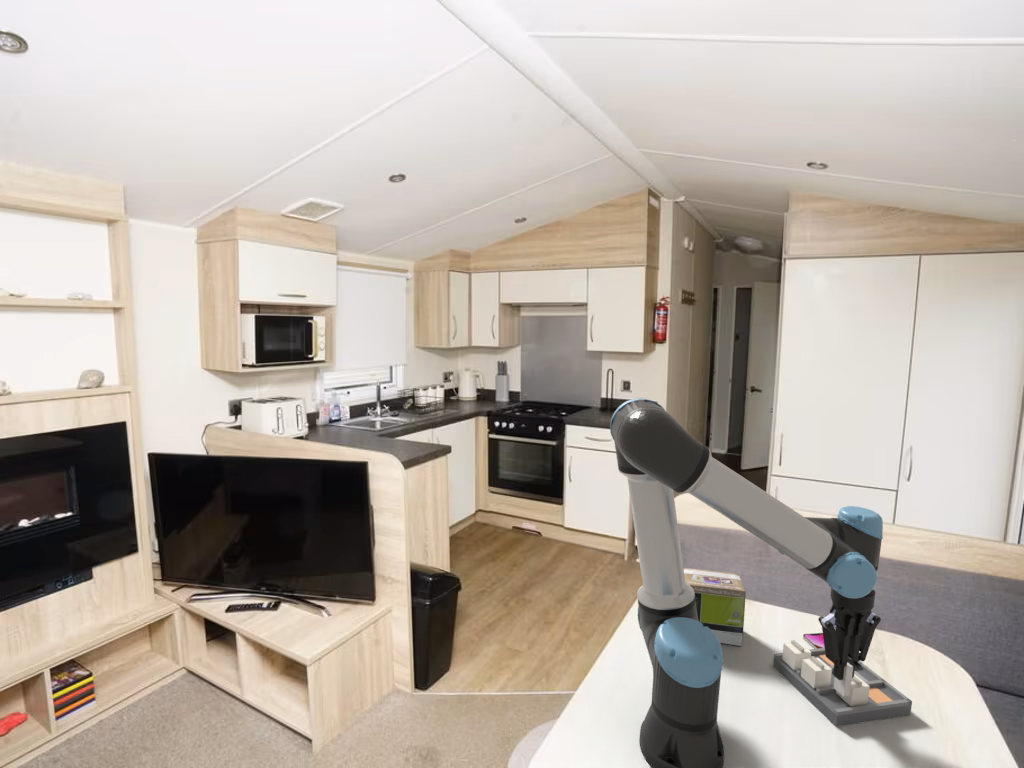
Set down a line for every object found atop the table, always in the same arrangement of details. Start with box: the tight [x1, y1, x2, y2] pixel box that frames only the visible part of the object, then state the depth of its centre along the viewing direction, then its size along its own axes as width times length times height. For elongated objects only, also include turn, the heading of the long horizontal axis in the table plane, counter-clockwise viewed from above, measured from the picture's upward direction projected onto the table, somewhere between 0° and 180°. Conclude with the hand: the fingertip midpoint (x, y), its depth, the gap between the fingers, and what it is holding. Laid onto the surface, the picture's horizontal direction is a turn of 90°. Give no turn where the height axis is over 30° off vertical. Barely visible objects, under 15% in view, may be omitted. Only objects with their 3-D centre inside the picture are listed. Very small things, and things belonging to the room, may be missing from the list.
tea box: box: [683, 567, 747, 647], centre depth 141 cm, size 15×10×15 cm
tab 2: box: [801, 656, 832, 688], centre depth 119 cm, size 4×4×5 cm
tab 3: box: [836, 674, 870, 706], centre depth 114 cm, size 4×4×5 cm
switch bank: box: [772, 648, 913, 728], centre depth 121 cm, size 18×19×3 cm
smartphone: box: [802, 632, 862, 662], centre depth 134 cm, size 7×1×15 cm
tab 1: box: [782, 639, 811, 670], centre depth 125 cm, size 4×4×5 cm
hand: (841, 691), depth 114 cm, fingers closed
